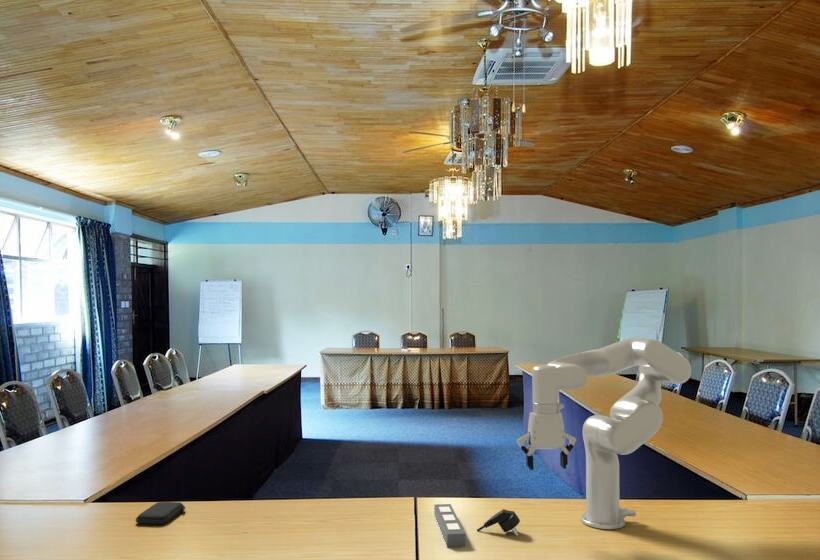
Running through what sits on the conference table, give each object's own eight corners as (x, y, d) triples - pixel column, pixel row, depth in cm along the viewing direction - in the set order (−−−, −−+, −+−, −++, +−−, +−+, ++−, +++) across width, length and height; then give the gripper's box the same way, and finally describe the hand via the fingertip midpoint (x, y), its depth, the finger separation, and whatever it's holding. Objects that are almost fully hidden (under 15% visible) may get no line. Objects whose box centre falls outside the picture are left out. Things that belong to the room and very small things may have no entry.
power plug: (476, 524, 180) (510, 502, 179) (491, 547, 179) (525, 525, 177) (474, 531, 175) (509, 509, 173) (490, 555, 174) (525, 532, 172)
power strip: (450, 515, 190) (450, 503, 190) (465, 546, 166) (465, 532, 166) (434, 516, 189) (434, 503, 189) (447, 547, 166) (447, 533, 166)
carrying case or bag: (167, 527, 180) (189, 510, 195) (167, 517, 180) (190, 500, 195) (132, 526, 181) (157, 509, 196) (132, 516, 181) (157, 499, 196)
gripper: (570, 405, 182) (571, 463, 182) (513, 406, 181) (514, 465, 180) (579, 409, 175) (580, 470, 174) (520, 411, 173) (521, 473, 173)
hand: (547, 468), depth 177 cm, fingers open, 9 cm apart
